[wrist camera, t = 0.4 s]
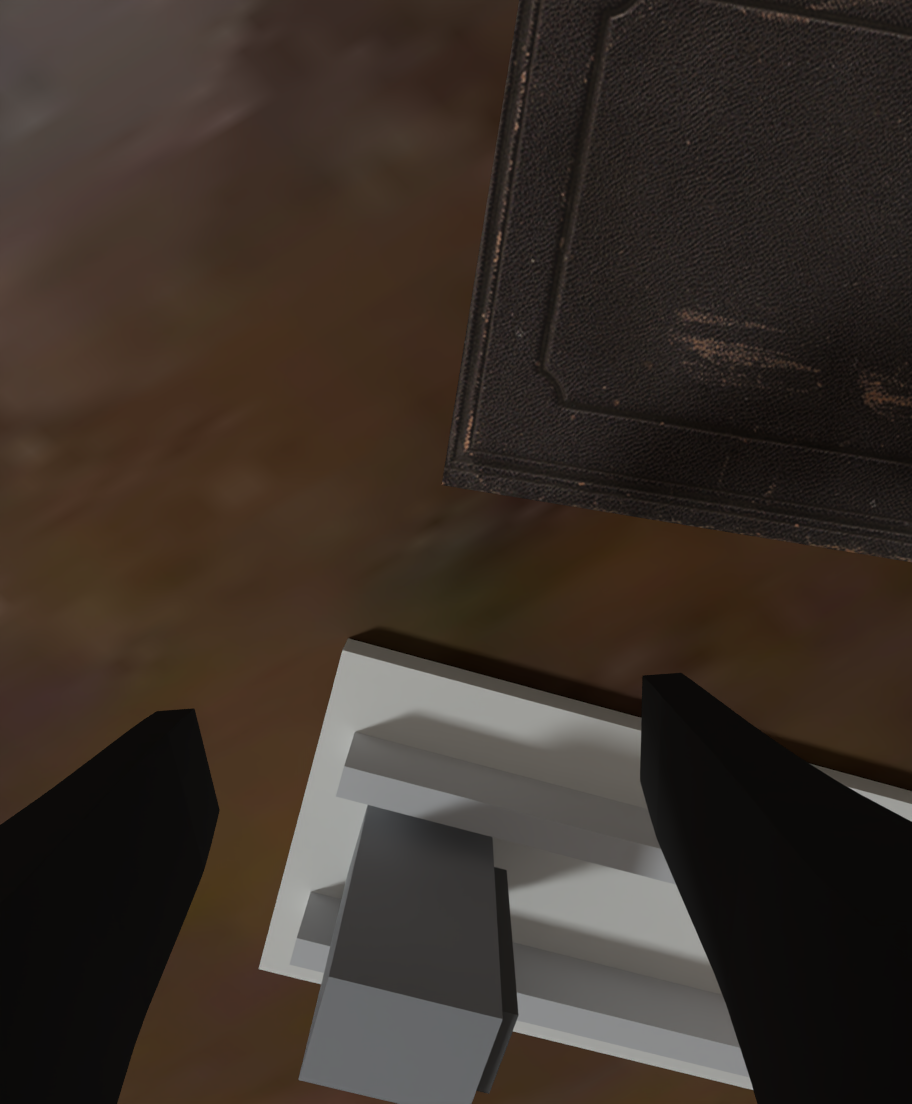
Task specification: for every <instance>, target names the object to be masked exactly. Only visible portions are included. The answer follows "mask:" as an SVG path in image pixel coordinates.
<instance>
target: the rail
mask: <svg viewBox="0 0 912 1104" xmlns="http://www.w3.org/2000/svg"><path fill="white" fill-rule="evenodd" d="M641 719H642V718H640V717H636V716H633V715H629V714H625V713H622V712H618V711H614V710H611V709H607V708H603V707H600V706H596V705H592V704H588V703H585V702H581V701H577V700H574V699H570V698H566V697H563V696H559V695H555V694H552V693H548V692H544V691H541V690H537V689H533V688H530V687H526V686H522V685H519V684H515V683H511V682H507V681H504V680H500V679H496V678H493V677H489V676H485V675H482V674H478V673H474V672H471V671H467V670H463V669H460V668H456V667H452V666H449V665H445V664H441V663H437V662H434V661H430V660H426V659H423V658H419V657H415V656H412V655H408V654H404V653H401V652H397V651H393V650H390V649H386V648H382V647H379V646H375V645H371V644H367V643H364V642H360V641H356V640H353V639H349V638H348V639H347V642H346V644H345V646H344V648H343V651H342V654H341V658H340V662H339V666H338V670H337V673H336V677H335V681H334V685H333V689H332V692H331V696H330V700H329V704H328V708H327V711H326V715H325V719H324V723H323V727H322V730H321V734H320V738H319V742H318V746H317V749H316V753H315V757H314V761H313V765H312V768H311V772H310V776H309V780H308V784H307V787H306V791H305V795H304V799H303V803H302V806H301V810H300V814H299V818H298V822H297V825H296V829H295V833H294V837H293V840H292V844H291V848H290V852H289V856H288V859H287V863H286V867H285V871H284V875H283V878H282V882H281V886H280V890H279V894H278V897H277V901H276V905H275V909H274V913H273V916H272V920H271V924H270V928H269V932H268V935H267V939H266V943H265V947H264V951H263V954H262V958H261V962H260V966H259V969H261V970H265V971H269V972H273V973H277V974H281V975H285V976H289V977H293V978H298V979H302V980H306V981H310V982H314V983H318V984H321V988H320V992H319V996H318V1000H317V1004H316V1009H315V1013H314V1017H313V1021H312V1025H311V1030H310V1034H309V1038H308V1042H307V1046H306V1051H305V1055H304V1059H303V1063H302V1067H301V1072H300V1076H299V1080H301V1081H306V1082H310V1083H314V1084H318V1085H322V1086H327V1087H331V1088H335V1089H339V1090H344V1091H348V1092H352V1093H356V1094H360V1095H365V1096H369V1097H373V1098H377V1099H382V1100H386V1101H390V1102H394V1103H398V1104H471V1103H472V1100H473V1098H474V1095H475V1092H476V1091H480V1092H484V1093H488V1094H489V1092H490V1090H491V1087H492V1084H493V1082H494V1079H495V1076H496V1074H497V1071H498V1069H499V1066H500V1063H501V1061H502V1058H503V1055H504V1053H505V1050H506V1047H507V1045H508V1042H509V1039H510V1037H511V1034H512V1032H513V1031H514V1032H518V1033H522V1034H527V1035H531V1036H535V1037H539V1038H543V1039H547V1040H551V1041H555V1042H559V1043H563V1044H567V1045H572V1046H576V1047H580V1048H584V1049H588V1050H592V1051H596V1052H600V1053H604V1054H608V1055H612V1056H617V1057H621V1058H625V1059H629V1060H633V1061H637V1062H641V1063H645V1064H649V1065H653V1066H657V1067H662V1068H666V1069H670V1070H674V1071H678V1072H682V1073H686V1074H690V1075H694V1076H698V1077H702V1078H707V1079H711V1080H715V1081H719V1082H723V1083H727V1084H731V1085H735V1086H739V1087H743V1088H747V1089H752V1090H753V1087H752V1084H751V1080H750V1077H749V1074H748V1071H747V1068H746V1065H745V1062H744V1059H743V1055H742V1052H741V1049H740V1046H739V1043H738V1040H737V1037H736V1034H735V1031H734V1028H733V1024H732V1021H731V1018H730V1015H729V1012H728V1009H727V1006H726V1003H725V1001H724V998H723V995H722V993H721V990H720V987H719V985H718V982H717V980H716V977H715V974H714V972H713V970H712V967H711V965H710V963H709V960H708V958H707V956H706V953H705V951H704V949H703V946H702V944H701V942H700V939H699V937H698V935H697V932H696V930H695V928H694V925H693V923H692V921H691V918H690V916H689V914H688V911H687V909H686V907H685V904H684V902H683V900H682V897H681V895H680V893H679V890H678V888H677V886H676V883H675V881H674V879H673V876H672V874H671V872H670V869H669V867H668V865H667V862H666V860H665V857H664V855H663V853H662V850H661V848H660V845H659V843H658V841H657V838H656V835H655V832H654V828H653V825H652V822H651V818H650V815H649V811H648V808H647V804H646V801H645V797H644V793H643V790H642V786H641V782H640V755H641ZM809 764H810V763H809ZM811 765H812V766H814V767H816V768H817V769H819V770H820V771H822V772H824V773H825V774H827V775H828V776H830V777H832V778H833V779H835V780H837V781H838V782H840V783H842V784H843V785H845V786H847V787H849V788H850V789H852V790H854V791H855V792H857V793H859V794H861V795H863V796H864V797H866V798H868V799H870V800H872V801H874V802H876V803H878V804H880V805H881V806H883V807H885V808H887V809H889V810H891V811H893V812H895V813H896V814H898V815H900V816H902V817H904V818H906V819H908V820H910V821H912V791H909V790H905V789H902V788H898V787H894V786H891V785H887V784H883V783H880V782H876V781H872V780H868V779H865V778H861V777H857V776H854V775H850V774H846V773H843V772H839V771H835V770H832V769H828V768H824V767H821V766H817V765H813V764H811Z"/></svg>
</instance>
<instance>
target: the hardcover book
mask: <svg viewBox="0 0 912 1104" xmlns="http://www.w3.org/2000/svg"><path fill="white" fill-rule="evenodd" d="M442 485H446V486H452V487H458V488H464V489H470V490H476V491H482V492H488V493H494V494H500V495H507V496H513V497H519V498H525V499H531V500H537V501H543V502H549V503H555V504H561V505H567V506H573V507H579V508H586V509H592V510H598V511H604V512H610V513H616V514H622V515H628V516H634V517H640V518H646V519H652V520H659V521H665V522H671V523H677V524H683V525H689V526H695V527H701V528H707V529H713V530H719V531H725V532H732V533H738V534H744V535H750V536H756V537H762V538H768V539H774V540H780V541H786V542H792V543H798V544H805V545H811V546H817V547H823V548H829V549H835V550H841V551H847V552H853V553H859V554H865V555H871V556H878V557H884V558H890V559H896V560H902V561H908V562H912V0H519V6H518V12H517V18H516V25H515V31H514V37H513V43H512V50H511V56H510V62H509V68H508V75H507V81H506V87H505V93H504V100H503V106H502V112H501V118H500V125H499V131H498V137H497V143H496V150H495V156H494V162H493V168H492V175H491V181H490V187H489V193H488V200H487V206H486V212H485V218H484V225H483V231H482V237H481V243H480V250H479V256H478V262H477V268H476V275H475V281H474V287H473V293H472V300H471V306H470V312H469V318H468V325H467V331H466V337H465V343H464V350H463V356H462V362H461V368H460V375H459V381H458V387H457V393H456V400H455V406H454V412H453V418H452V425H451V431H450V437H449V443H448V450H447V456H446V462H445V468H444V475H443V481H442Z"/></svg>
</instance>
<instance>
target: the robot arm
mask: <svg viewBox="0 0 912 1104" xmlns="http://www.w3.org/2000/svg"><path fill="white" fill-rule="evenodd" d="M640 782H641V786H642V790H643V793H644V797H645V801H646V804H647V808H648V811H649V815H650V818H651V822H652V825H653V828H654V832H655V835H656V838H657V841H658V843H659V845H660V848H661V850H662V853H663V855H664V857H665V860H666V862H667V865H668V867H669V869H670V872H671V874H672V876H673V879H674V881H675V883H676V886H677V888H678V890H679V893H680V895H681V897H682V900H683V902H684V904H685V907H686V909H687V911H688V914H689V916H690V918H691V921H692V923H693V925H694V928H695V930H696V932H697V935H698V937H699V939H700V942H701V944H702V946H703V949H704V951H705V953H706V956H707V958H708V960H709V963H710V965H711V967H712V970H713V972H714V974H715V977H716V980H717V982H718V985H719V987H720V990H721V993H722V995H723V998H724V1001H725V1003H726V1006H727V1009H728V1012H729V1015H730V1018H731V1021H732V1024H733V1028H734V1031H735V1034H736V1037H737V1040H738V1043H739V1046H740V1049H741V1052H742V1055H743V1059H744V1062H745V1065H746V1068H747V1071H748V1074H749V1077H750V1080H751V1084H752V1087H753V1090H754V1093H755V1097H756V1100H757V1103H758V1104H912V821H910V820H908V819H906V818H904V817H902V816H900V815H898V814H896V813H895V812H893V811H891V810H889V809H887V808H885V807H883V806H881V805H880V804H878V803H876V802H874V801H872V800H870V799H868V798H866V797H864V796H863V795H861V794H859V793H857V792H855V791H854V790H852V789H850V788H849V787H847V786H845V785H843V784H842V783H840V782H838V781H837V780H835V779H833V778H832V777H830V776H828V775H827V774H825V773H824V772H822V771H820V770H819V769H817V768H816V767H814V766H812V765H811V764H809V763H808V762H806V761H804V760H803V759H801V758H800V757H798V756H797V755H795V754H794V753H792V752H791V751H789V750H788V749H786V748H785V747H783V746H782V745H780V744H779V743H777V742H776V741H774V740H773V739H771V738H770V737H769V736H767V735H766V734H764V733H763V732H761V731H760V730H759V729H757V728H756V727H754V726H753V725H752V724H750V723H749V722H747V721H746V720H745V719H743V718H742V717H741V716H739V715H738V714H736V713H735V712H734V711H732V710H731V709H730V708H728V707H727V706H726V705H724V704H723V703H722V702H720V701H719V700H718V699H716V698H715V697H714V696H712V695H711V694H710V693H708V692H707V691H706V690H704V689H703V688H702V687H700V686H699V685H698V684H696V683H695V682H693V681H692V680H691V679H689V678H688V677H686V676H685V675H683V674H682V673H673V674H659V675H645V676H643V682H642V719H641V755H640ZM218 814H219V806H218V802H217V798H216V794H215V790H214V786H213V782H212V778H211V774H210V770H209V766H208V762H207V757H206V753H205V749H204V745H203V741H202V737H201V733H200V729H199V725H198V721H197V717H196V713H195V709H182V710H168V711H157V712H155V713H154V714H152V715H150V716H149V717H147V718H146V719H144V720H143V721H141V722H140V723H139V724H137V725H136V726H134V727H133V728H132V729H130V730H129V731H128V732H126V733H125V734H124V735H122V736H121V737H120V738H118V739H117V740H116V741H114V742H113V743H112V744H110V745H109V746H108V747H106V748H105V749H104V750H102V751H101V752H100V753H99V754H97V755H96V756H95V757H93V758H92V759H91V760H89V761H88V762H87V763H85V764H84V765H83V766H81V767H80V768H79V769H77V770H76V771H75V772H73V773H72V774H71V775H69V776H68V777H67V778H65V779H64V780H63V781H61V782H60V783H59V784H57V785H56V786H55V787H54V788H52V789H51V790H49V791H48V792H47V793H45V794H44V795H42V796H41V797H40V798H38V799H37V800H35V801H34V802H32V803H31V804H30V805H28V806H27V807H25V808H24V809H23V810H21V811H20V812H18V813H17V814H15V815H14V816H13V817H11V818H10V819H8V820H7V821H5V822H4V823H3V824H1V825H0V1104H117V1102H118V1098H119V1095H120V1092H121V1088H122V1085H123V1082H124V1079H125V1075H126V1072H127V1069H128V1065H129V1062H130V1059H131V1055H132V1052H133V1049H134V1046H135V1043H136V1040H137V1037H138V1035H139V1032H140V1029H141V1026H142V1024H143V1021H144V1018H145V1015H146V1013H147V1010H148V1008H149V1005H150V1003H151V1000H152V998H153V995H154V993H155V990H156V988H157V986H158V983H159V981H160V978H161V976H162V973H163V971H164V968H165V966H166V964H167V961H168V959H169V956H170V954H171V951H172V949H173V946H174V944H175V942H176V939H177V937H178V934H179V932H180V929H181V927H182V924H183V922H184V920H185V917H186V915H187V912H188V910H189V907H190V905H191V902H192V900H193V897H194V895H195V892H196V890H197V887H198V885H199V882H200V879H201V877H202V874H203V872H204V869H205V865H206V861H207V858H208V854H209V850H210V847H211V843H212V839H213V835H214V831H215V827H216V823H217V818H218Z"/></svg>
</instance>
